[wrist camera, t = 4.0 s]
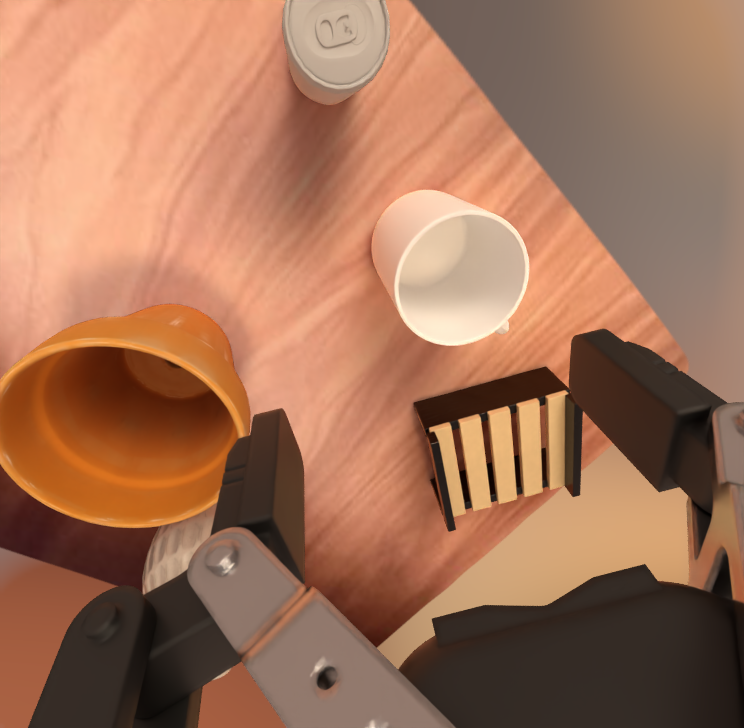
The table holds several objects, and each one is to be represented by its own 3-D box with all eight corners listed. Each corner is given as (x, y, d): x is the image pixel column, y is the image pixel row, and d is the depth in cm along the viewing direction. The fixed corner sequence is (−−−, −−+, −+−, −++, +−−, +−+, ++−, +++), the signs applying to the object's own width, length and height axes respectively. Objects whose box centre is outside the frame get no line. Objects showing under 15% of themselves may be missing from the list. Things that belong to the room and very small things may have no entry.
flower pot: (49, 294, 33) (-80, 378, 22) (227, 250, 34) (191, 311, 22) (136, 433, 40) (72, 551, 29) (282, 396, 41) (275, 498, 29)
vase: (250, 432, 42) (224, 590, 28) (317, 508, 48) (323, 670, 34) (142, 487, 43) (63, 667, 29) (221, 555, 50) (188, 730, 35)
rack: (546, 366, 43) (583, 401, 38) (548, 453, 49) (580, 495, 44) (413, 402, 43) (430, 444, 37) (431, 485, 49) (448, 532, 43)
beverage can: (367, 96, 30) (402, 79, 20) (300, 113, 30) (300, 105, 20) (350, 10, 28) (381, -61, 17) (278, 29, 28) (265, -33, 17)
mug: (439, 334, 40) (482, 396, 31) (347, 245, 35) (364, 287, 25) (512, 268, 38) (581, 313, 28) (425, 162, 33) (475, 175, 23)
